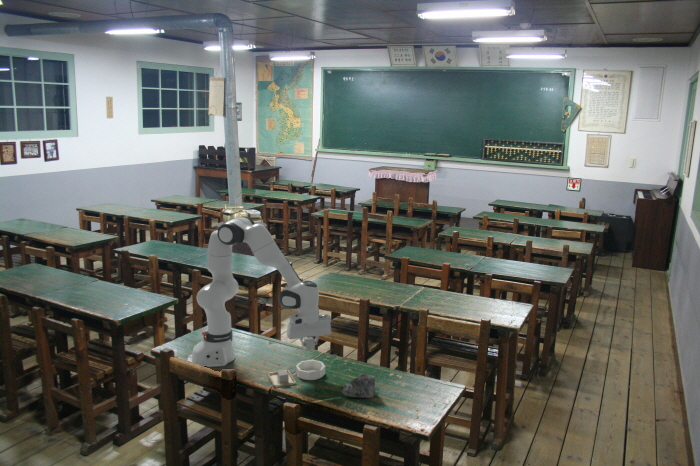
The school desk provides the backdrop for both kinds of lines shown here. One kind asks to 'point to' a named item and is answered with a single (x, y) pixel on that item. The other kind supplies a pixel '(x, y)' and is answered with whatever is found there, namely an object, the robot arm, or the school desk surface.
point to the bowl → (310, 369)
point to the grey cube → (309, 343)
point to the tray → (274, 382)
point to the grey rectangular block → (282, 377)
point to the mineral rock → (360, 386)
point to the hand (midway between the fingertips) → (309, 345)
